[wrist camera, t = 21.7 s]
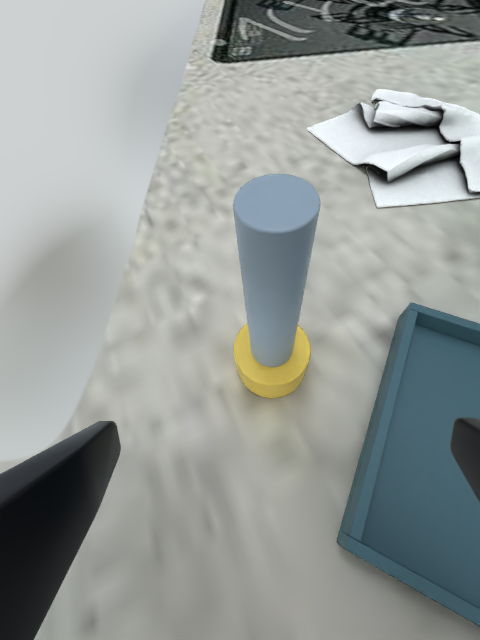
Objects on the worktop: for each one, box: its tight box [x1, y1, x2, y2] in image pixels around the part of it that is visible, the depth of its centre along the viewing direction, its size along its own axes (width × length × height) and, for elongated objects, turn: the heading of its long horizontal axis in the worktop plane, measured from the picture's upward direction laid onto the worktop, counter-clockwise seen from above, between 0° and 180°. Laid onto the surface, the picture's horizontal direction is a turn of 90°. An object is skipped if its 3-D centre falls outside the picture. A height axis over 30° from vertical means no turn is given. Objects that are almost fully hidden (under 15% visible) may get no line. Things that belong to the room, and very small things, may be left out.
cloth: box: [307, 89, 480, 208], centre depth 31 cm, size 20×22×2 cm
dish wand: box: [233, 174, 320, 398], centre depth 15 cm, size 5×5×14 cm
